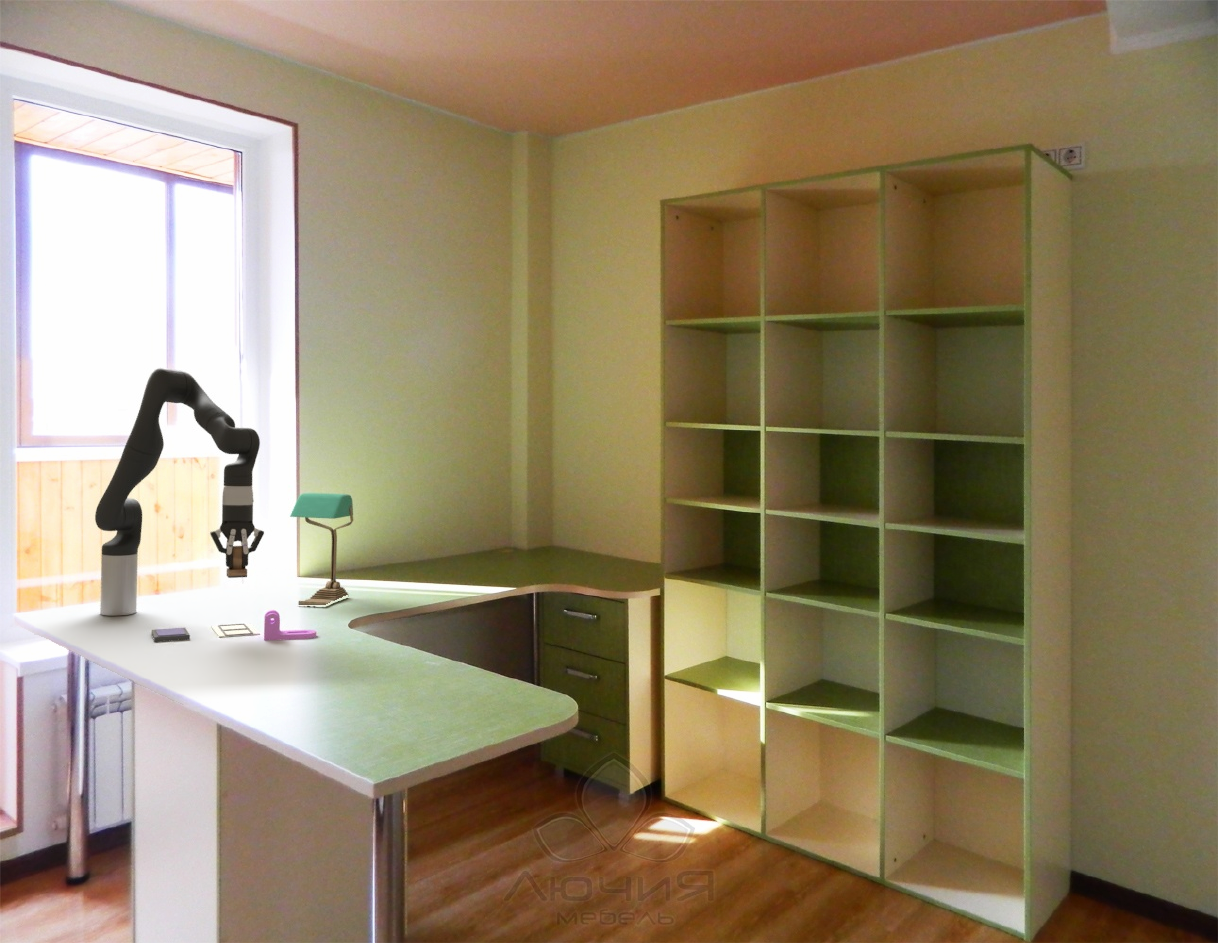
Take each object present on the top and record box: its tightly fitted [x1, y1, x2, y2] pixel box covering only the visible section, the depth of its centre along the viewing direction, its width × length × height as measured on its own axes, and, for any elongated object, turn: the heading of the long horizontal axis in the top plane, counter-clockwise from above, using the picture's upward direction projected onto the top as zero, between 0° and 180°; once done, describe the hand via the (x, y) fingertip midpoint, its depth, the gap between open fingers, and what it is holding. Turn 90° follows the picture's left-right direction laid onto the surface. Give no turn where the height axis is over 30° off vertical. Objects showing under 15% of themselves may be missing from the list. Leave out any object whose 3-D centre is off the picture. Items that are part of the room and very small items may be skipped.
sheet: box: [210, 623, 260, 638], centre depth 247 cm, size 14×10×1 cm
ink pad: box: [151, 627, 191, 643], centre depth 237 cm, size 10×8×1 cm
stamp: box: [226, 545, 248, 579], centre depth 242 cm, size 4×4×8 cm
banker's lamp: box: [289, 492, 354, 605], centre depth 293 cm, size 16×21×35 cm
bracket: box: [263, 609, 317, 641], centre depth 241 cm, size 13×6×7 cm, turn 111°
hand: (236, 567), depth 242 cm, fingers closed on stamp, 2 cm apart
